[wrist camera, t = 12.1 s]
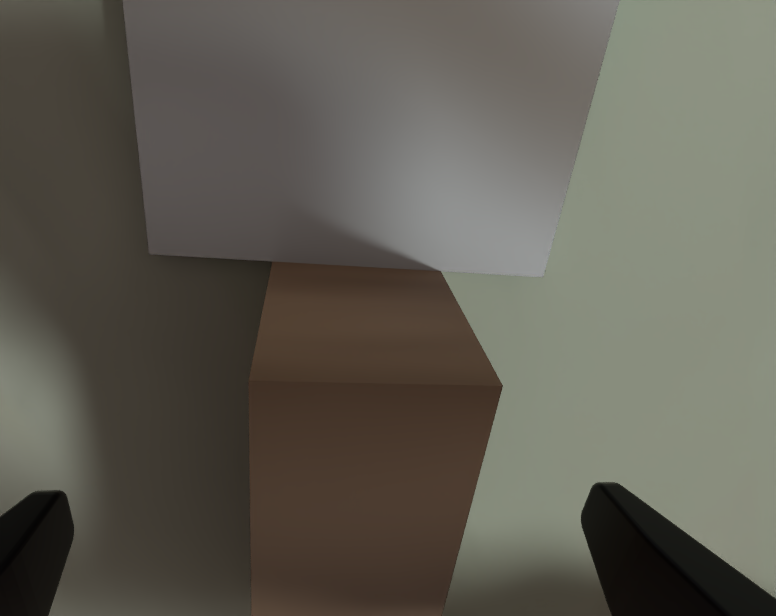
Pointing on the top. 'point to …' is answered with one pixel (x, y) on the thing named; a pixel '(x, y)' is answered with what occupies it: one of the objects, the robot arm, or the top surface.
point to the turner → (362, 250)
